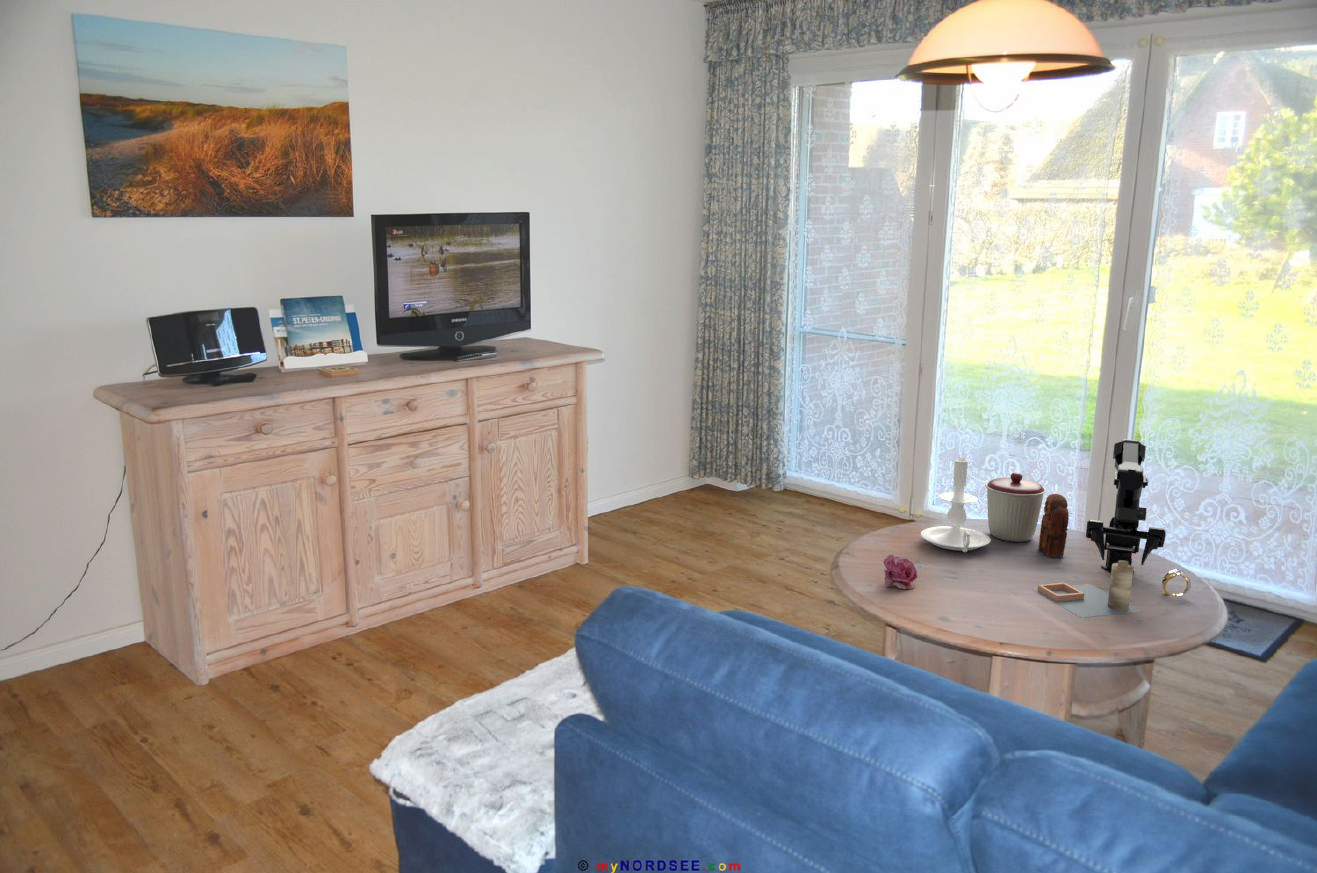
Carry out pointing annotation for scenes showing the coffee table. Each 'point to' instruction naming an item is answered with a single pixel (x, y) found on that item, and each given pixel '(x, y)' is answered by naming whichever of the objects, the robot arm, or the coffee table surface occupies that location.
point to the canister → (1013, 507)
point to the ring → (1176, 573)
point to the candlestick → (957, 517)
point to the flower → (899, 572)
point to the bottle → (1120, 586)
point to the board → (1081, 599)
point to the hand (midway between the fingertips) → (1122, 561)
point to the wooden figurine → (1054, 526)
